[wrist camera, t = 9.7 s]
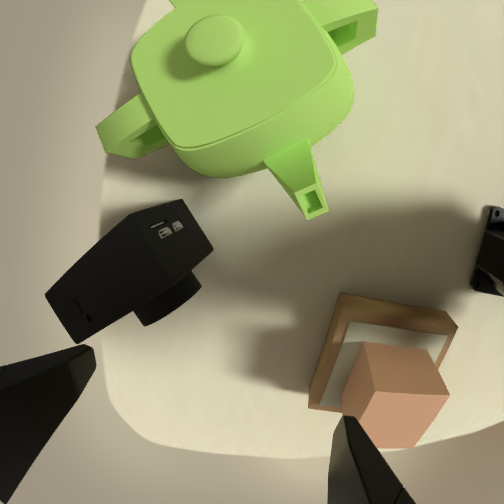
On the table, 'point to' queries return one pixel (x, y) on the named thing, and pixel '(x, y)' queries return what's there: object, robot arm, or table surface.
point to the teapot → (244, 88)
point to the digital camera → (132, 271)
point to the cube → (394, 393)
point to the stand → (373, 340)
